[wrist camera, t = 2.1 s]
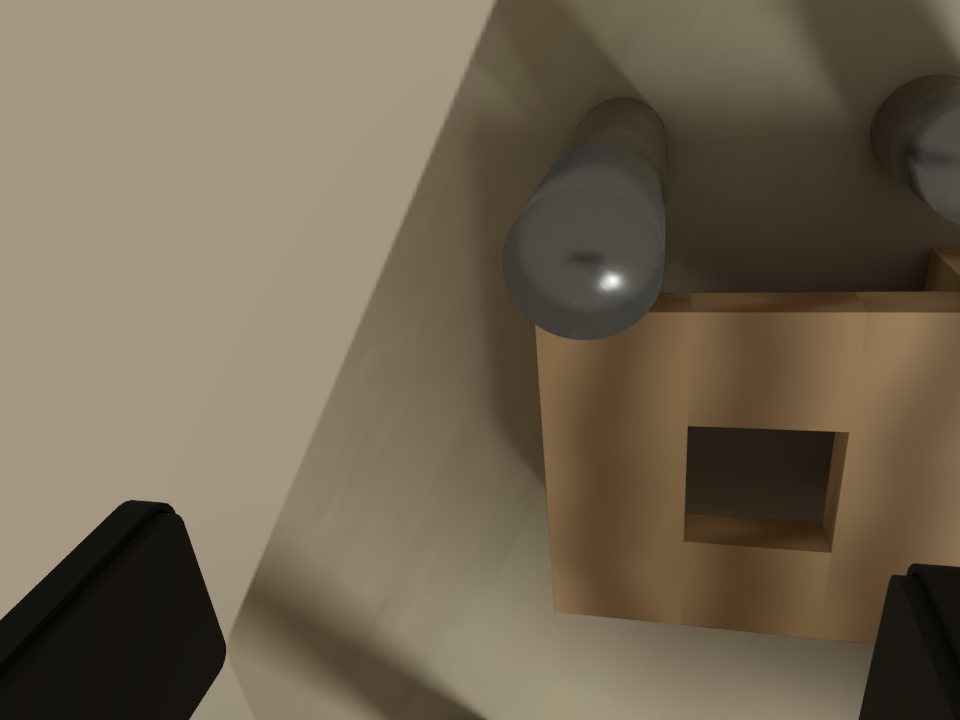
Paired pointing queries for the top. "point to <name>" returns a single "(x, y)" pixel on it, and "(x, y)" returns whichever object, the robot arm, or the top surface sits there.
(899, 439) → the bridge
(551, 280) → the long pin
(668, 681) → the top surface
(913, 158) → the short pin
